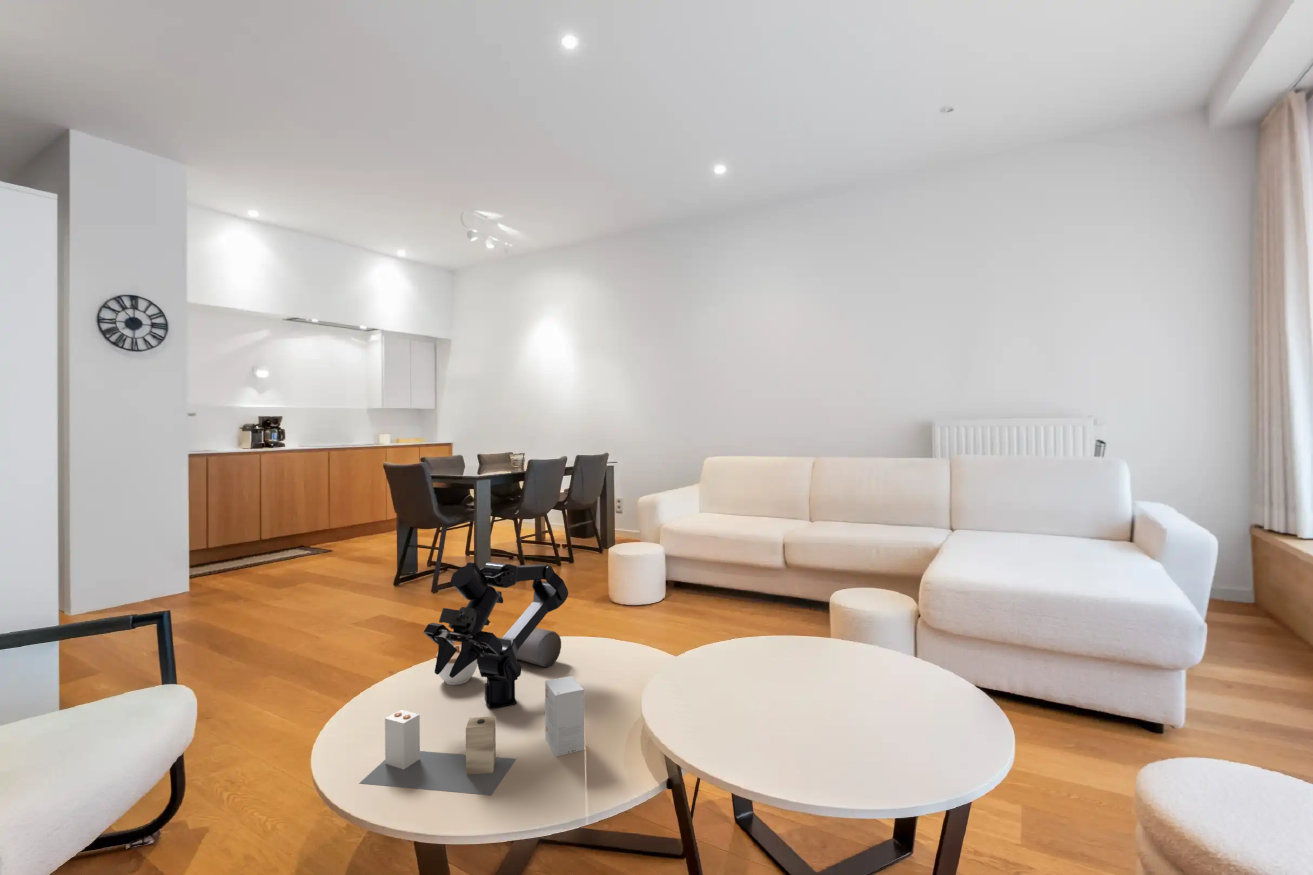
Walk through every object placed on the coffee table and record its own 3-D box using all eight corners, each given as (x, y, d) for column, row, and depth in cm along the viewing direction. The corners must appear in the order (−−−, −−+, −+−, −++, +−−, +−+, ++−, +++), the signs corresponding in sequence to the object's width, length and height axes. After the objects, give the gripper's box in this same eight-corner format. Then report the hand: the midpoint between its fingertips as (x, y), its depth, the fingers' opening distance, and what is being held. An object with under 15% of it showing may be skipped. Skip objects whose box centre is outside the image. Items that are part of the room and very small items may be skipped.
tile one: (469, 762, 116) (469, 716, 116) (495, 761, 117) (495, 714, 117) (466, 774, 112) (465, 726, 112) (492, 772, 113) (492, 724, 113)
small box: (585, 752, 121) (584, 689, 121) (555, 759, 118) (554, 695, 118) (573, 734, 128) (572, 674, 128) (544, 740, 126) (544, 680, 125)
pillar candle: (563, 655, 171) (527, 646, 179) (558, 625, 169) (521, 616, 177) (540, 674, 163) (503, 663, 171) (534, 642, 161) (497, 632, 169)
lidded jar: (458, 669, 164) (458, 635, 164) (486, 676, 159) (486, 642, 159) (427, 683, 155) (426, 648, 155) (456, 692, 150) (456, 655, 150)
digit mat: (516, 761, 118) (516, 758, 118) (491, 798, 106) (491, 794, 106) (396, 751, 121) (396, 748, 121) (359, 786, 109) (359, 783, 109)
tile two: (401, 753, 120) (401, 708, 120) (419, 758, 118) (419, 713, 118) (385, 763, 116) (384, 717, 116) (403, 769, 114) (403, 722, 114)
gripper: (429, 587, 135) (390, 651, 125) (493, 596, 128) (457, 665, 118) (454, 612, 143) (419, 674, 133) (516, 622, 135) (484, 688, 125)
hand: (443, 675), depth 127 cm, fingers open, 4 cm apart
